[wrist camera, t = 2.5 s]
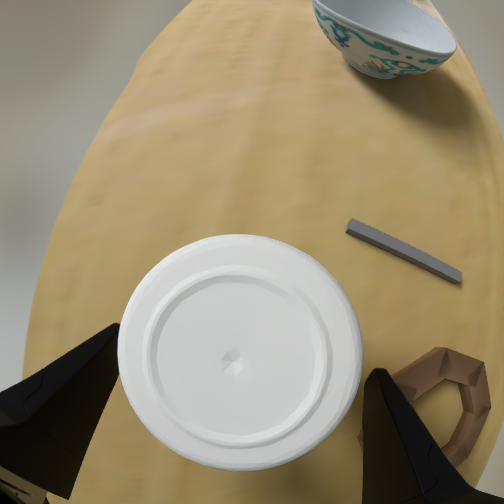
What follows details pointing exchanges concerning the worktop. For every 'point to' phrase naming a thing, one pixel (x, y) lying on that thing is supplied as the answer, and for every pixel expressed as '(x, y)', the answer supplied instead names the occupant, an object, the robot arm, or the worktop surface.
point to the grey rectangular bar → (403, 250)
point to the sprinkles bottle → (240, 352)
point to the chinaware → (385, 36)
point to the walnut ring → (471, 389)
